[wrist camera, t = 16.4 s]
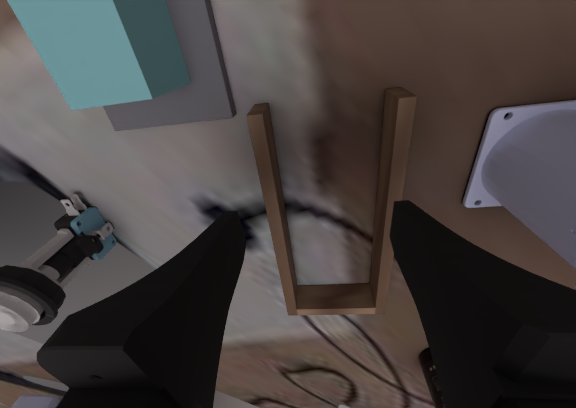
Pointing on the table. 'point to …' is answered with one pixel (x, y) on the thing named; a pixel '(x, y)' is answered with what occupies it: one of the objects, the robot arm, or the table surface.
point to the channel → (388, 190)
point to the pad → (202, 71)
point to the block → (105, 48)
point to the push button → (52, 268)
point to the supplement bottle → (431, 378)
